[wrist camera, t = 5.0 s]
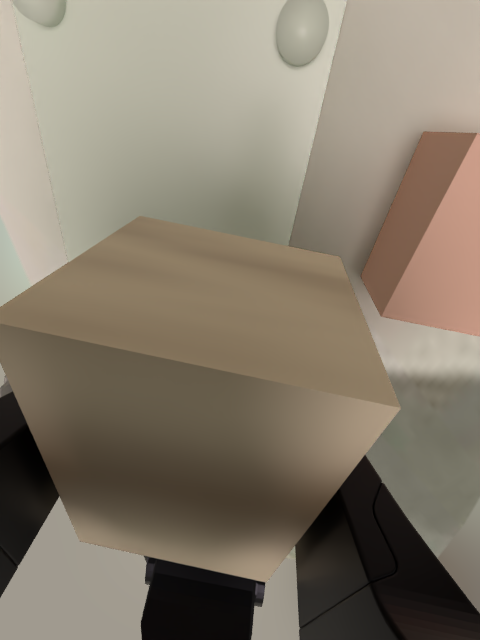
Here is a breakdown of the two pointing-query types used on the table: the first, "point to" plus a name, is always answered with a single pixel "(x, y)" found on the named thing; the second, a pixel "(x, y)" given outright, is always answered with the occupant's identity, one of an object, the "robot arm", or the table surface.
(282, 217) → the build plate
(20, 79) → the table surface
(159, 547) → the birch brick
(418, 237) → the terracotta brick
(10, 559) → the robot arm
